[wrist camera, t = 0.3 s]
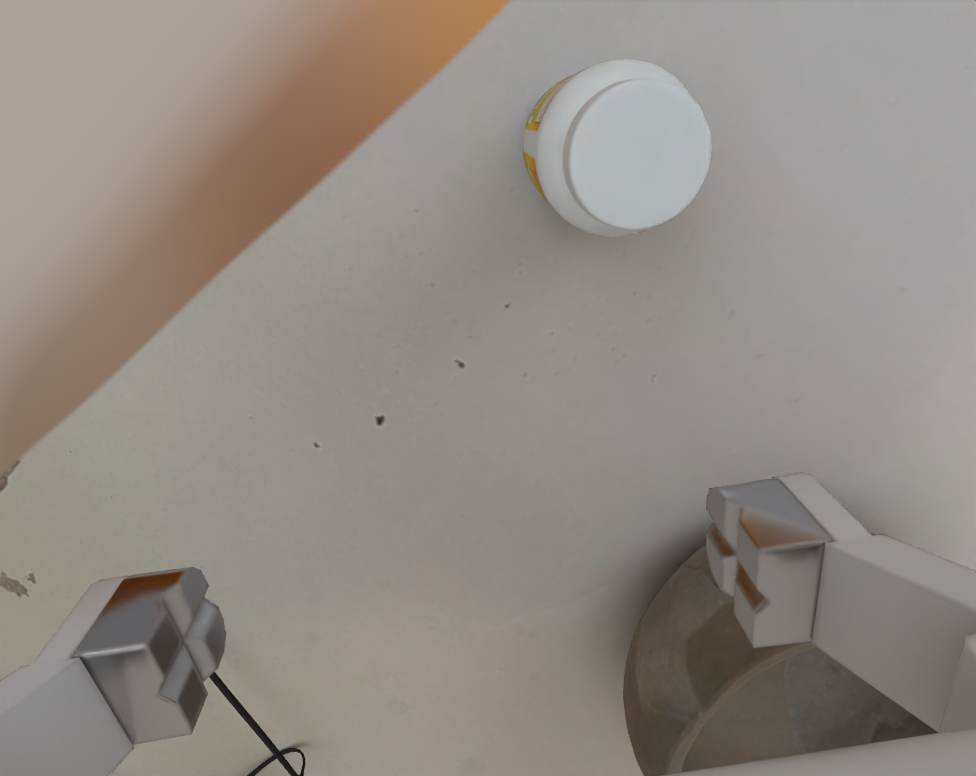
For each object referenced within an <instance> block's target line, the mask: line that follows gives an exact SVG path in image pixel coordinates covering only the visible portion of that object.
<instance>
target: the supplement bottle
mask: <svg viewBox="0 0 976 776" xmlns="http://www.w3.org/2000/svg"><path fill="white" fill-rule="evenodd" d="M711 147H712V143H711V135H710V129H709V126H708V123H707V120H706V117H705V115H704V113H703V111H702V109H701V108H700V106H699V105H698V103H697V102H696V101H695V100H694V98H693V97H692V96H691V95H690V94H689V92H688V91H687V90H686V88H685V87H684V86H683V84H682V83H681V82H680V81H679V80H678V79H677V78H676V77H674V76H673V75H672V74H671V73H669V72H668V71H666V70H665V69H663V68H661V67H659V66H657V65H655V64H652V63H649V62H646V61H642V60H637V59H615V60H609V61H605V62H601V63H598V64H595V65H593V66H591V67H588V68H586V69H584V70H582V71H580V72H578V73H576V74H574V75H572V76H570V77H568V78H565V79H564V80H562V81H560V82H558V83H557V84H556V85H554V86H553V87H552V88H550V89H549V90H548V91H547V92H546V93H545V94H544V95H543V96H542V97H541V99H540V100H539V101H538V102H537V104H536V105H535V107H534V109H533V110H532V112H531V114H530V116H529V119H528V121H527V124H526V128H525V133H524V139H523V153H524V160H525V164H526V168H527V171H528V173H529V176H530V178H531V180H532V181H533V183H534V185H535V186H536V188H537V189H538V190H539V192H540V193H541V194H542V195H543V196H544V198H545V199H546V200H547V201H548V202H549V204H550V205H551V206H552V207H553V209H554V210H555V211H556V212H557V213H558V214H559V215H560V216H561V217H562V218H563V219H564V220H566V221H567V222H568V223H570V224H571V225H573V226H574V227H576V228H578V229H580V230H582V231H584V232H587V233H590V234H593V235H598V236H604V237H621V236H628V235H632V234H636V233H639V232H642V231H644V230H646V229H649V228H651V227H655V226H658V225H660V224H662V223H665V222H667V221H669V220H671V219H672V218H674V217H675V216H676V215H678V214H679V213H681V212H682V211H683V210H684V209H685V208H686V207H687V206H688V205H689V204H690V203H691V201H692V200H693V199H694V198H695V196H696V195H697V193H698V192H699V190H700V188H701V186H702V185H703V183H704V180H705V178H706V176H707V172H708V169H709V165H710V160H711Z"/></svg>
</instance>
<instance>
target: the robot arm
mask: <svg viewBox="0 0 976 776" xmlns="http://www.w3.org/2000/svg"><path fill="white" fill-rule="evenodd" d="M706 510H707V511H708V513H709V515H710V516H711V518H712V519H713V521H714V522H713V524H712V525H711V526H710V527H709V529H708V530H707V531H706V551H707V556H708V561H709V566H710V569H711V571H712V574H713V576H714V579H715V581H716V583H717V584H718V586H719V588H720V590H721V591H722V592H723V593H725V594H727V595H729V596H730V597H732V598H734V615H735V617H736V618H737V620H738V622H739V624H740V625H741V627H742V629H743V630H744V632H745V634H746V636H747V637H748V639H749V641H750V643H751V644H752V646H753V648H759V647H767V646H775V645H783V644H791V643H799V642H807V641H812V644H813V645H814V646H816V647H817V648H819V649H820V650H821V651H823V652H824V653H826V654H827V655H829V656H830V657H831V658H833V659H834V660H836V661H837V662H839V663H840V664H841V665H843V666H844V667H846V668H847V669H849V670H850V671H851V672H853V673H854V674H856V675H857V676H859V677H860V678H861V679H863V680H864V681H866V682H867V683H868V684H870V685H871V686H873V687H874V688H876V689H877V690H878V691H880V692H881V693H883V694H884V695H886V696H887V697H888V698H890V699H891V700H893V701H894V702H896V703H897V704H898V705H900V706H901V707H903V708H904V709H906V710H907V711H908V712H910V713H911V714H913V715H914V716H916V717H917V718H918V719H920V720H921V721H923V722H924V723H926V724H927V725H928V726H930V727H931V728H933V729H934V730H935V731H937V732H938V733H936V734H929V735H923V736H916V737H910V738H903V739H896V740H890V741H883V742H877V743H870V744H864V745H857V746H850V747H844V748H837V749H831V750H824V751H818V752H811V753H805V754H798V755H791V756H785V757H778V758H772V759H765V760H759V761H752V762H746V763H739V764H733V765H726V766H720V767H713V768H706V769H700V770H693V771H687V772H680V773H674V774H667V775H661V776H976V571H974V570H972V569H969V568H967V567H964V566H962V565H959V564H956V563H954V562H951V561H949V560H946V559H944V558H941V557H939V556H936V555H934V554H931V553H929V552H926V551H924V550H921V549H919V548H916V547H914V546H911V545H908V544H906V543H903V542H901V541H898V540H896V539H893V538H891V537H888V536H886V535H883V534H882V535H875V536H872V535H871V534H870V533H869V532H868V531H867V530H866V529H865V528H864V527H863V526H862V525H861V524H860V523H859V522H858V521H857V520H856V519H855V518H854V517H853V516H852V515H851V514H850V513H849V512H848V511H847V510H846V509H845V508H844V507H843V506H842V505H841V504H840V503H839V502H838V501H837V500H836V499H835V498H834V497H833V496H832V495H831V494H830V493H829V492H828V491H827V490H826V489H825V488H824V487H823V486H822V485H821V484H820V483H819V482H818V481H817V480H816V479H815V478H814V477H813V476H812V475H811V474H809V473H806V472H799V473H794V474H788V475H783V476H777V477H773V478H772V479H766V480H759V481H753V482H747V483H740V484H734V485H728V486H721V487H715V488H709V492H708V495H707V506H706ZM208 587H209V585H208V583H207V581H206V579H205V577H204V575H203V573H202V571H201V570H200V569H197V568H194V567H189V568H181V569H173V570H166V571H158V572H150V573H143V574H135V575H131V576H122V577H115V578H108V579H101V580H99V581H97V582H95V583H93V584H91V585H90V587H89V588H88V589H87V591H86V592H85V593H84V595H83V596H82V597H81V599H80V600H79V601H78V603H77V604H76V606H75V607H74V608H73V610H72V611H71V612H70V614H69V615H68V616H67V618H66V619H65V620H64V622H63V623H62V625H61V626H60V627H59V629H58V630H57V631H56V633H55V634H54V635H53V637H52V638H51V639H50V641H49V642H48V644H47V645H46V646H45V648H44V649H43V650H42V652H41V653H40V654H39V656H38V657H37V658H36V660H35V661H34V662H33V664H32V665H26V666H21V667H20V668H18V669H17V670H15V671H14V672H12V673H11V674H10V675H8V676H7V677H5V678H4V679H2V680H1V681H0V776H109V775H110V774H111V773H112V772H113V770H114V769H115V768H116V767H117V766H118V765H119V764H120V763H121V762H122V761H123V759H124V758H125V757H126V756H127V755H128V754H129V753H130V752H131V751H132V750H133V748H134V746H133V745H135V744H140V743H146V742H151V741H156V740H162V739H167V738H173V737H178V736H184V735H189V734H192V732H193V729H194V727H195V724H196V722H197V719H198V717H199V715H200V712H201V710H202V707H203V705H204V702H205V700H206V697H207V695H208V693H207V690H206V688H205V686H204V684H203V682H204V681H205V680H206V679H207V678H208V677H209V676H210V675H211V674H212V673H213V672H215V671H216V670H217V669H218V667H219V664H220V662H221V659H222V656H223V653H224V647H225V636H226V631H225V625H224V620H223V617H222V614H221V612H220V610H219V607H218V606H216V605H215V604H213V603H212V602H210V601H209V600H207V599H205V598H204V596H205V594H206V592H207V589H208Z"/></svg>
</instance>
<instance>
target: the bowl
mask: <svg viewBox="0 0 976 776" xmlns="http://www.w3.org/2000/svg"><path fill="white" fill-rule="evenodd" d="M870 534H871V535H872V536H875V534H872V533H870ZM623 698H624V708H625V716H626V723H627V728H628V733H629V737H630V740H631V744H632V747H633V750H634V754H635V757H636V759H637V762H638V764H639V766H640V769H641V771H642V773H643V775H644V776H661V775H667V774H674V773H680V772H687V771H693V770H700V769H706V768H713V767H720V766H726V765H733V764H739V763H746V762H752V761H759V760H765V759H772V758H778V757H785V756H791V755H798V754H805V753H811V752H818V751H824V750H831V749H837V748H844V747H850V746H857V745H864V744H870V743H877V742H883V741H890V740H896V739H903V738H910V737H916V736H923V735H929V734H936V733H938V732H937V731H935V730H934V729H933V728H931V727H930V726H928V725H927V724H926V723H924V722H923V721H921V720H920V719H918V718H917V717H916V716H914V715H913V714H911V713H910V712H908V711H907V710H906V709H904V708H903V707H901V706H900V705H898V704H897V703H896V702H894V701H893V700H891V699H890V698H888V697H887V696H886V695H884V694H883V693H881V692H880V691H878V690H877V689H876V688H874V687H873V686H871V685H870V684H868V683H867V682H866V681H864V680H863V679H861V678H860V677H859V676H857V675H856V674H854V673H853V672H851V671H850V670H849V669H847V668H846V667H844V666H843V665H841V664H840V663H839V662H837V661H836V660H834V659H833V658H831V657H830V656H829V655H827V654H826V653H824V652H823V651H821V650H820V649H819V648H817V647H816V646H814V645H813V644H812V641H807V642H799V643H791V644H783V645H775V646H767V647H759V648H753V646H752V644H751V643H750V641H749V639H748V637H747V636H746V634H745V632H744V630H743V629H742V627H741V625H740V624H739V622H738V620H737V618H736V617H735V615H734V598H732V597H730V596H729V595H727V594H725V593H723V592H722V591H721V590H720V588H719V586H718V584H717V583H716V581H715V579H714V576H713V574H712V571H711V569H710V566H709V561H708V556H707V551H706V545H705V546H703V547H702V548H700V549H699V550H697V551H696V552H695V553H694V554H693V555H691V556H690V557H689V558H688V559H687V560H685V561H684V562H683V563H682V564H681V565H680V566H679V568H678V570H677V571H676V572H675V573H674V574H673V575H672V576H671V577H670V578H669V579H668V580H667V581H666V582H665V584H664V585H663V586H662V588H661V589H660V590H659V592H658V593H657V594H656V595H655V597H654V598H653V600H652V602H651V603H650V605H649V606H648V608H647V610H646V611H645V613H644V615H643V616H642V618H641V620H640V623H639V625H638V627H637V629H636V631H635V634H634V636H633V639H632V643H631V646H630V649H629V652H628V657H627V661H626V668H625V674H624V688H623Z"/></svg>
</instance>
